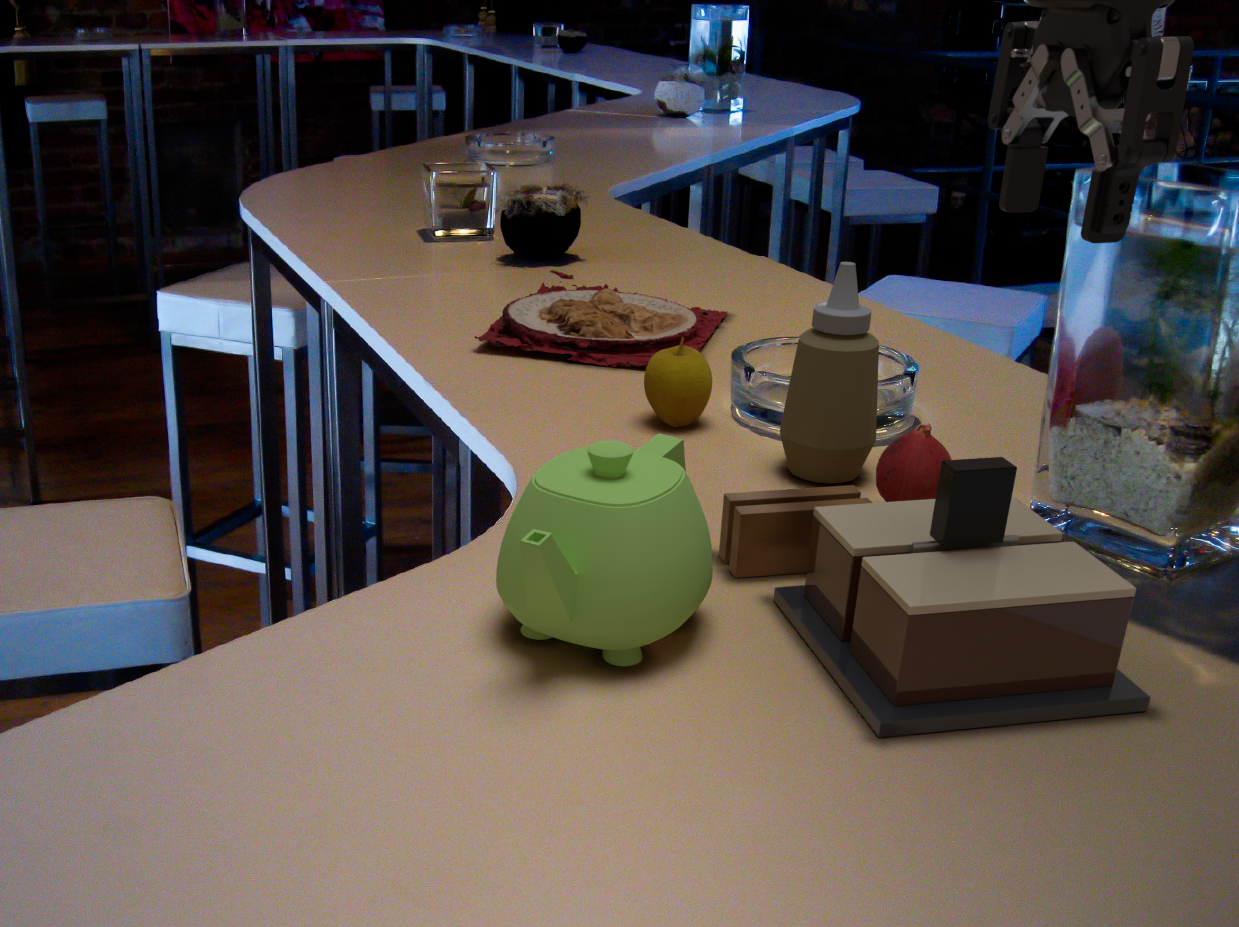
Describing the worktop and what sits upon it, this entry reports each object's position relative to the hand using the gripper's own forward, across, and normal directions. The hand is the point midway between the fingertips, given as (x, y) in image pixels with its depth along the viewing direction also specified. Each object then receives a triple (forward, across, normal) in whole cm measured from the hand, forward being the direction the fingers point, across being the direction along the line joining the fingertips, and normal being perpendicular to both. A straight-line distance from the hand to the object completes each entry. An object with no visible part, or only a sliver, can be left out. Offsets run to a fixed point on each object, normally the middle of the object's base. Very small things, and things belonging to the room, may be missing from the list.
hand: (1057, 225), depth 72 cm
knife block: (+26, +12, +9) cm, 30 cm away
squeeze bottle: (+27, +28, 0) cm, 39 cm away
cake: (+26, -2, +4) cm, 27 cm away
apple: (+27, +42, +9) cm, 51 cm away
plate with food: (+27, +73, +8) cm, 78 cm away
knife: (+26, -2, +4) cm, 26 cm away
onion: (+27, +18, -3) cm, 33 cm away
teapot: (+26, +5, +25) cm, 37 cm away
